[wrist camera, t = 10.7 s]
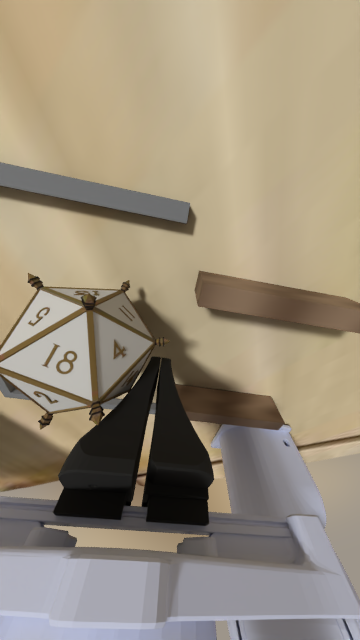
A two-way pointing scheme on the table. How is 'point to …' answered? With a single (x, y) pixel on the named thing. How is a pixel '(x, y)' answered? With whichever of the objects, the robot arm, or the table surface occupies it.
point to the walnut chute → (266, 304)
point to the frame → (96, 196)
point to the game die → (76, 348)
